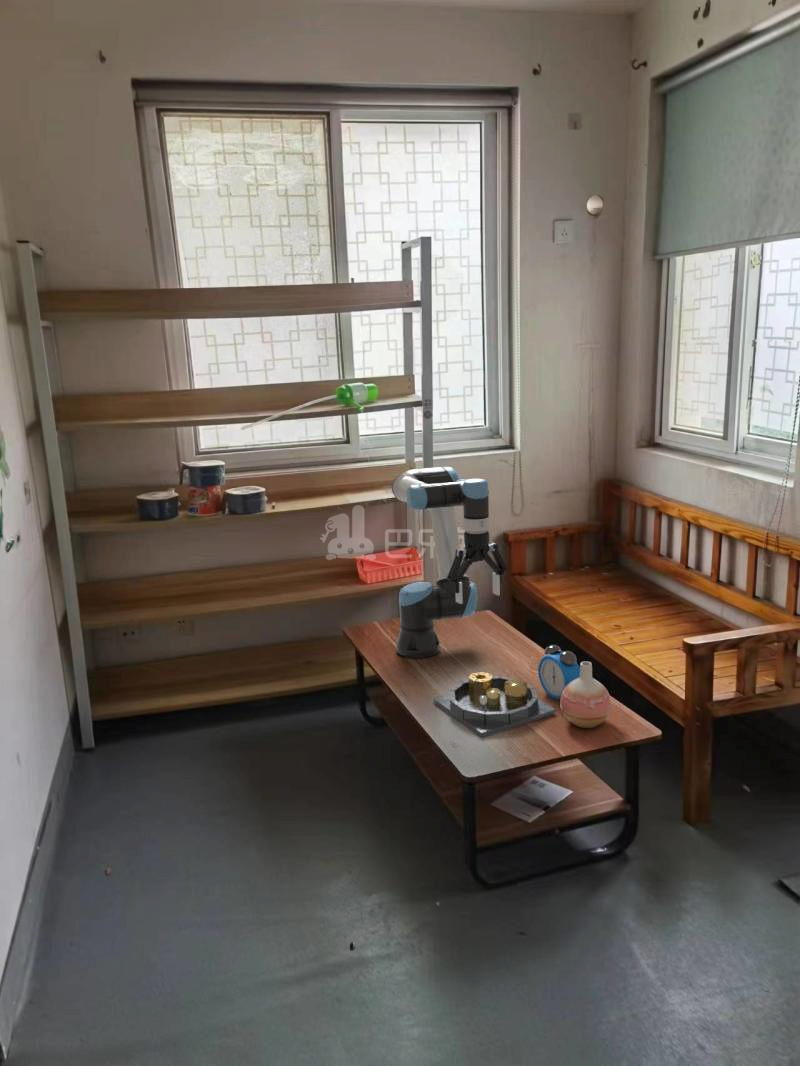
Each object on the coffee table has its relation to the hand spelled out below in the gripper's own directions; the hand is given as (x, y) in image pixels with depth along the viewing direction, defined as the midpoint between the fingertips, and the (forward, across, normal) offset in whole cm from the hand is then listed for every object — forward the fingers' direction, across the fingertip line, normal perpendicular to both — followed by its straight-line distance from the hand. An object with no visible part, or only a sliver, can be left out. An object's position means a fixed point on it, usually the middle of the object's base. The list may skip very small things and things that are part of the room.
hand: (477, 598), depth 244 cm
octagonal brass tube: (+25, -8, -13) cm, 29 cm away
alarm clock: (+27, +13, -23) cm, 38 cm away
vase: (+27, +8, -40) cm, 49 cm away
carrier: (+27, -8, -19) cm, 34 cm away
